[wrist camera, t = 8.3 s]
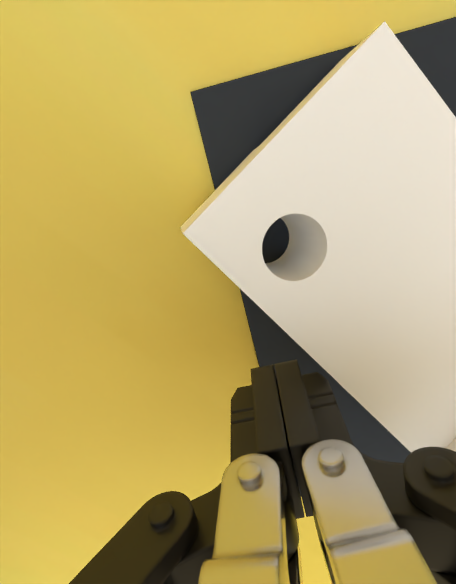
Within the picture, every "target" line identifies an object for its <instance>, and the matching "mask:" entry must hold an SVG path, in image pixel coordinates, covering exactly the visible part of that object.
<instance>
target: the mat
mask: <svg viewBox="0 0 456 584" xmlns="http://www.w3.org/2000/svg"><path fill="white" fill-rule="evenodd" d="M394 35H395V36H396V37H397V39H398V40H399V41H400V43H401V44H402V45H403V47H404V48H405V49H406V51H407V52H408V54H409V55H410V56H411V58H412V59H413V60H414V62H415V63H416V64H417V66H418V67H419V68H420V70H421V71H422V72H423V74H424V75H425V77H426V78H427V79H428V81H429V82H430V83H431V85H432V86H433V87H434V89H435V90H436V91H437V93H438V94H439V95H440V97H441V98H442V100H443V101H444V102H445V104H446V105H447V106H448V108H449V109H450V110H451V112H452V113H453V114H454V116H455V117H456V17H454V18H451V19H447V20H444V21H440V22H437V23H433V24H430V25H426V26H423V27H419V28H416V29H412V30H408V31H405V32H401V33H398V34H394ZM356 46H357V45H355V46H352V47H348V48H345V49H341V50H338V51H334V52H331V53H327V54H323V55H320V56H316V57H313V58H309V59H306V60H302V61H299V62H295V63H292V64H288V65H284V66H281V67H277V68H274V69H270V70H267V71H263V72H260V73H256V74H253V75H249V76H245V77H242V78H238V79H235V80H231V81H228V82H224V83H221V84H217V85H214V86H210V87H207V88H203V89H199V90H196V91H192V92H191V96H192V100H193V104H194V108H195V112H196V116H197V120H198V124H199V128H200V132H201V136H202V140H203V144H204V148H205V152H206V156H207V160H208V164H209V168H210V172H211V176H212V180H213V184H214V188H215V190H216V189H217V188H218V187H219V186H220V185H221V184H222V183H223V182H224V180H225V179H226V178H227V177H228V176H229V175H230V174H231V173H232V172H233V171H234V170H235V169H236V168H237V167H238V166H239V165H240V164H241V163H242V162H243V160H244V159H245V158H246V157H247V156H248V155H249V154H250V153H251V152H252V151H253V150H254V149H256V148H257V147H258V146H260V145H261V143H262V142H263V141H264V140H265V139H266V138H267V137H268V136H269V135H270V134H271V133H272V132H273V131H274V130H275V129H276V128H277V127H278V126H279V125H280V124H281V122H282V121H283V120H284V119H285V118H286V117H287V116H288V115H289V114H290V113H291V112H292V111H293V110H294V109H295V108H296V107H297V106H298V105H299V104H300V102H301V101H302V100H303V99H304V98H305V97H306V96H307V95H308V94H309V93H310V92H311V91H312V90H313V89H314V88H315V87H316V86H317V85H318V84H319V83H320V81H321V80H322V79H323V78H324V77H325V76H326V75H327V74H328V73H329V72H330V71H331V70H332V69H333V68H334V67H335V66H336V65H337V64H338V63H339V61H340V60H342V59H343V58H344V57H345V56H346V55H347V54H348V53H349V52H351V51H352V50H353V49H354V48H355V47H356ZM288 244H289V231H288V228H287V226H286V224H285V222H284V221H283V220H282V219H281V218H279V219H277V220H276V221H275V222H274V223H273V224H272V225H271V226H270V227H269V228H268V230H267V232H266V234H265V236H264V239H263V243H262V255H263V259H264V262H265V263H271V262H273V261H276V260H277V259H279V258H280V257H281V256H282V255H283V254H284V252H285V251H286V249H287V247H288ZM240 291H241V295H242V299H243V303H244V307H245V311H246V315H247V319H248V323H249V327H250V331H251V335H252V339H253V343H254V347H255V351H256V355H257V359H258V363H259V367H263V366H267V365H272V364H273V365H274V369H275V364H277V363H282V362H287V361H291V360H296V359H297V361H298V365H299V368H300V372H301V375H305V374H309V373H314V372H318V373H320V374H321V375H322V376H323V377H325V378H326V379H327V380H328V381H329V384H330V386H331V389H332V391H333V394H334V396H335V399H336V402H337V404H338V407H339V409H340V412H341V415H342V417H343V420H344V422H345V425H346V427H347V430H348V433H349V435H350V438H351V440H352V442H353V444H354V445H355V447H356V448H357V449H358V450H359V451H360V452H362V453H363V454H365V455H367V456H369V457H371V458H373V459H377V460H381V461H388V462H399V463H404V461H405V459H406V457H407V456H408V455H409V454H410V453H411V452H410V451H409V450H408V449H407V448H406V447H405V446H404V445H403V444H402V443H401V442H400V441H399V440H398V439H396V438H395V437H394V436H393V435H392V434H391V433H390V432H389V431H388V430H387V429H386V428H385V427H384V426H383V425H382V424H381V423H380V422H379V421H378V420H377V419H376V418H375V417H374V416H372V415H371V414H370V413H369V412H368V411H367V410H366V409H365V408H364V407H363V406H362V405H361V404H360V403H359V402H358V401H357V400H356V399H355V398H354V397H353V396H352V395H351V394H350V393H349V392H347V391H346V390H345V389H344V388H343V387H342V386H341V385H340V384H339V383H338V382H337V381H336V380H335V379H334V378H333V377H332V376H331V375H330V374H329V373H328V372H327V371H326V370H325V369H323V368H322V367H321V366H320V365H319V364H318V363H317V362H316V361H315V360H314V359H313V358H312V357H311V356H310V355H309V354H308V353H307V352H306V351H305V350H304V349H303V348H302V347H301V346H299V345H298V344H297V343H296V342H295V341H294V340H293V339H292V338H291V337H290V336H289V335H288V334H287V333H286V332H285V331H284V330H283V329H282V328H281V327H280V326H279V325H278V324H277V323H276V322H274V321H273V320H272V319H271V318H270V317H269V316H268V315H267V314H266V313H265V312H264V311H263V310H262V309H261V308H260V307H259V306H258V305H257V304H256V303H255V302H254V301H253V300H252V299H250V298H249V297H248V296H247V295H246V294H245V293H244V292H243V291H242V290H241V289H240ZM275 373H276V370H275ZM276 378H277V376H276ZM277 382H278V381H277ZM298 485H299V484H298ZM299 490H300V488H299ZM300 495H301V492H300Z"/></svg>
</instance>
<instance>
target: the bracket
mask: <svg viewBox="0 0 456 584" xmlns="http://www.w3.org/2000/svg"><path fill="white" fill-rule="evenodd" d="M279 218H281V219H282V220H283V221H284V222H285V224H286V226H287V228H288V231H289V244H288V247H287V249H286V251H285V252H284V254H283V255H282V256H281V257H280V258H279V259H277V260H276V261H273V262H271V263H265V262H264V259H263V255H262V243H263V239H264V236H265V234H266V232H267V230H268V228H269V227H270V226H271V225H272V224H273V223H274V222H275V221H276V220H277V219H279ZM180 229H181V231H182V233H183V234H184V235H185V236H186V237H187V238H188V239H189V240H190V241H191V242H192V243H193V244H194V245H195V246H196V247H197V248H198V249H199V250H200V251H201V252H203V253H204V254H205V255H206V256H207V257H208V258H209V259H210V260H211V261H212V262H213V263H214V264H215V265H216V266H217V267H218V268H219V269H220V270H221V271H222V272H223V273H224V274H225V275H226V276H228V277H229V278H230V279H231V280H232V281H233V282H234V283H235V284H236V285H237V286H238V287H239V288H240V289H241V290H242V291H243V292H244V293H245V294H246V295H247V296H248V297H249V298H250V299H252V300H253V301H254V302H255V303H256V304H257V305H258V306H259V307H260V308H261V309H262V310H263V311H264V312H265V313H266V314H267V315H268V316H269V317H270V318H271V319H272V320H273V321H274V322H276V323H277V324H278V325H279V326H280V327H281V328H282V329H283V330H284V331H285V332H286V333H287V334H288V335H289V336H290V337H291V338H292V339H293V340H294V341H295V342H296V343H297V344H298V345H299V346H301V347H302V348H303V349H304V350H305V351H306V352H307V353H308V354H309V355H310V356H311V357H312V358H313V359H314V360H315V361H316V362H317V363H318V364H319V365H320V366H321V367H322V368H323V369H325V370H326V371H327V372H328V373H329V374H330V375H331V376H332V377H333V378H334V379H335V380H336V381H337V382H338V383H339V384H340V385H341V386H342V387H343V388H344V389H345V390H346V391H347V392H349V393H350V394H351V395H352V396H353V397H354V398H355V399H356V400H357V401H358V402H359V403H360V404H361V405H362V406H363V407H364V408H365V409H366V410H367V411H368V412H369V413H370V414H371V415H372V416H374V417H375V418H376V419H377V420H378V421H379V422H380V423H381V424H382V425H383V426H384V427H385V428H386V429H387V430H388V431H389V432H390V433H391V434H392V435H393V436H394V437H395V438H396V439H398V440H399V441H400V442H401V443H402V444H403V445H404V446H405V447H406V448H407V449H408V450H409V451H410V452H413V451H415V450H417V449H419V448H423V447H442V448H446V449H450V450H452V451H455V452H456V117H455V116H454V114H453V113H452V112H451V110H450V109H449V108H448V106H447V105H446V104H445V102H444V101H443V100H442V98H441V97H440V95H439V94H438V93H437V91H436V90H435V89H434V87H433V86H432V85H431V83H430V82H429V81H428V79H427V78H426V77H425V75H424V74H423V72H422V71H421V70H420V68H419V67H418V66H417V64H416V63H415V62H414V60H413V59H412V58H411V56H410V55H409V54H408V52H407V51H406V49H405V48H404V47H403V45H402V44H401V43H400V41H399V40H398V39H397V37H396V36H395V35H394V33H393V32H392V31H391V29H390V28H389V26H388V25H387V24H386V22H385V21H384V22H383V23H382V24H381V25H380V26H379V27H378V28H377V29H375V30H374V31H373V32H372V33H371V34H370V35H369V36H368V37H366V38H365V39H364V40H363V41H362V42H361V43H360V44H358V45H357V46H356V47H355V48H354V49H353V50H352V51H351V52H349V53H348V54H347V55H346V56H345V57H344V58H343V59H342V60H340V61H339V63H338V64H337V65H336V66H335V67H334V68H333V69H332V70H331V71H330V72H329V73H328V74H327V75H326V76H325V77H324V78H323V79H322V80H321V81H320V83H319V84H318V85H317V86H316V87H315V88H314V89H313V90H312V91H311V92H310V93H309V94H308V95H307V96H306V97H305V98H304V99H303V100H302V101H301V102H300V104H299V105H298V106H297V107H296V108H295V109H294V110H293V111H292V112H291V113H290V114H289V115H288V116H287V117H286V118H285V119H284V120H283V121H282V122H281V124H280V125H279V126H278V127H277V128H276V129H275V130H274V131H273V132H272V133H271V134H270V135H269V136H268V137H267V138H266V139H265V140H264V141H263V142H262V143H261V145H260V146H258V147H257V148H256V149H254V150H253V151H252V152H251V153H250V154H249V155H248V156H247V157H246V158H245V159H244V160H243V162H242V163H241V164H240V165H239V166H238V167H237V168H236V169H235V170H234V171H233V172H232V173H231V174H230V175H229V176H228V177H227V178H226V179H225V180H224V182H223V183H222V184H221V185H220V186H219V187H218V188H217V189H216V190H215V191H214V192H213V193H212V194H211V195H210V196H209V197H208V198H207V199H206V200H205V202H204V203H203V204H202V205H201V206H200V207H199V208H198V209H197V210H196V211H195V212H194V213H193V214H192V215H191V216H190V217H189V218H188V219H187V220H186V221H185V223H184V224H183V225H182V226H181V227H180Z"/></svg>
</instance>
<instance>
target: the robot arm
mask: <svg viewBox="0 0 456 584" xmlns="http://www.w3.org/2000/svg"><path fill="white" fill-rule="evenodd" d="M275 370H276V373H275ZM276 376H277V378H276ZM251 381H252V385H250V386H245V387H240V388H237V390H236V392H235V393H234V395H233V397H232V399H231V463H230V464H229V466H228V467H227V468H226V470H225V471H224V474H223V477H222V482H221V484H219V485H218V486H217V487H216V488H215V489H213V490H212V491H210V492H208V493H206V494H204V495H202V496H200V497H198V498H196V499H194V500H192V501H190V499H189V498H188V497H187V496H186V495H184V494H183V493H180V492H176V491H170V492H164V493H161V494H159V495H156V496H155V497H153V498H151V499H150V500H149V501H147V502H146V503H145V504H144V505H143V506H142V507H141V508H140V509H139V510H138V511H137V512H136V514H135V515H134V516H133V517H132V518H131V519H130V520H129V521H128V522H127V523H126V524H125V525H124V526H123V527H122V528H121V529H120V530H119V531H118V532H117V534H116V535H115V536H114V537H113V538H112V539H111V540H110V541H109V542H108V543H107V544H106V545H105V546H104V547H103V548H102V549H101V550H100V551H99V552H98V554H97V555H96V556H95V557H94V558H93V559H92V560H91V561H90V562H89V563H88V564H87V565H86V566H85V567H84V568H83V569H82V570H81V571H80V572H79V574H78V575H77V576H76V577H75V578H74V579H73V580H72V581H71V582H70V583H69V584H303V579H302V567H301V555H300V548H299V533H298V527H297V521H296V519H297V518H303V517H304V511H303V506H302V501H301V496H302V500H303V504H304V508H305V513H306V517H308V516H314V520H315V524H316V529H317V533H318V537H319V541H320V546H321V550H322V553H323V556H324V560H325V563H326V567H327V570H328V573H329V577H330V580H331V584H456V452H455V451H452V450H450V449H446V448H442V447H423V448H419V449H417V450H415V451H413V452H411V453H410V454H409V455H408V456H407V457H406V459H405V461H404V463H399V462H388V461H381V460H377V459H373V458H371V457H369V456H367V455H365V454H363V453H362V452H360V451H359V450H358V449H357V448H356V447H355V445H354V444H353V442H352V440H351V438H350V435H349V433H348V430H347V427H346V425H345V422H344V420H343V417H342V415H341V412H340V409H339V407H338V404H337V402H336V399H335V396H334V394H333V391H332V389H331V386H330V384H329V381H328V380H327V379H326V378H325V377H323V376H322V375H321V374H320V373H318V372H314V373H309V374H305V375H301V372H300V368H299V365H298V361H297V359H296V360H291V361H287V362H282V363H277V364H275V369H274V365H273V364H272V365H267V366H263V367H258V368H253V369H251ZM277 381H278V382H277ZM298 484H299V485H298ZM299 488H300V490H299ZM300 492H301V495H300Z"/></svg>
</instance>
